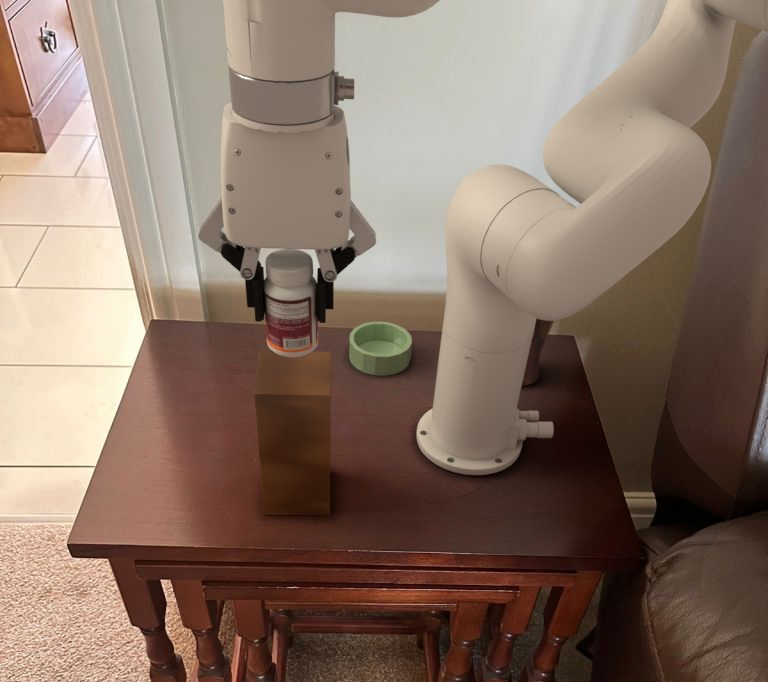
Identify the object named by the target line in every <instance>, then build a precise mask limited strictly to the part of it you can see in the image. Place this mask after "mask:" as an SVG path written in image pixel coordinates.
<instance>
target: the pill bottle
mask: <svg viewBox="0 0 768 682" xmlns="http://www.w3.org/2000/svg"><path fill="white" fill-rule="evenodd" d="M313 261H314V260H313V257H312V255H310V254H309V253H308V252H305V251H303V250H301V249H278V250H275V251H273V252H270V253H269V254H268V255H266V257H265V275H266V277H264V282H263V296H264V309H265V314H264V320H265V334H266V343H267V347H268V348H269V349H270V351H273V352H275V353H276V354H279V355H281V356H285V357H300V356H304V355H307V354H309V353H311V352H314V351H315V350H316V349H317V347H318V345H319V321H317V279H316V278H315V276H314V262H313Z"/></svg>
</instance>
